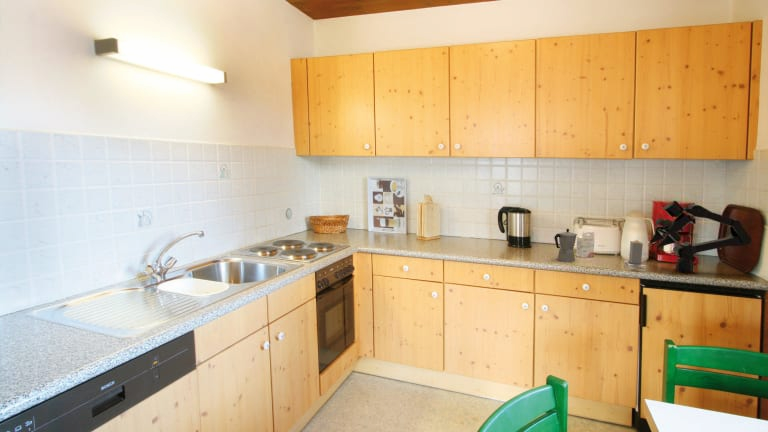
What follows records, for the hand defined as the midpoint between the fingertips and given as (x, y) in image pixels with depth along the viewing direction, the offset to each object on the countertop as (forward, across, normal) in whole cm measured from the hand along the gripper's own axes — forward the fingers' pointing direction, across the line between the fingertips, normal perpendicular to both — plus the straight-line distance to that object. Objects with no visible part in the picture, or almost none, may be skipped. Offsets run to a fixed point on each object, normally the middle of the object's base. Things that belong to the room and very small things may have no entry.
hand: (653, 244), depth 229 cm
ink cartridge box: (+27, -28, -9) cm, 40 cm away
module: (+14, -1, +3) cm, 14 cm away
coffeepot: (+37, -16, -19) cm, 44 cm away
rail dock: (+15, -1, +4) cm, 15 cm away
